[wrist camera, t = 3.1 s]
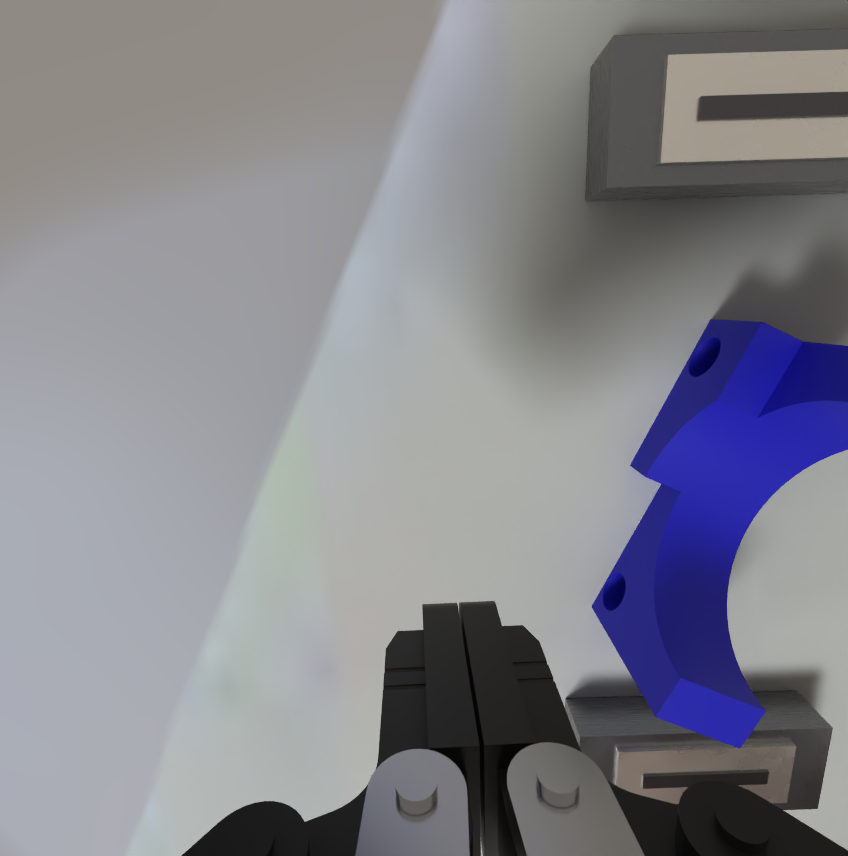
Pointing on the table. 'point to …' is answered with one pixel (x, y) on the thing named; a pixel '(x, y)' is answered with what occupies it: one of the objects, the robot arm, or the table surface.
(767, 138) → the label stands
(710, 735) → the cable clip
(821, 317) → the table surface
